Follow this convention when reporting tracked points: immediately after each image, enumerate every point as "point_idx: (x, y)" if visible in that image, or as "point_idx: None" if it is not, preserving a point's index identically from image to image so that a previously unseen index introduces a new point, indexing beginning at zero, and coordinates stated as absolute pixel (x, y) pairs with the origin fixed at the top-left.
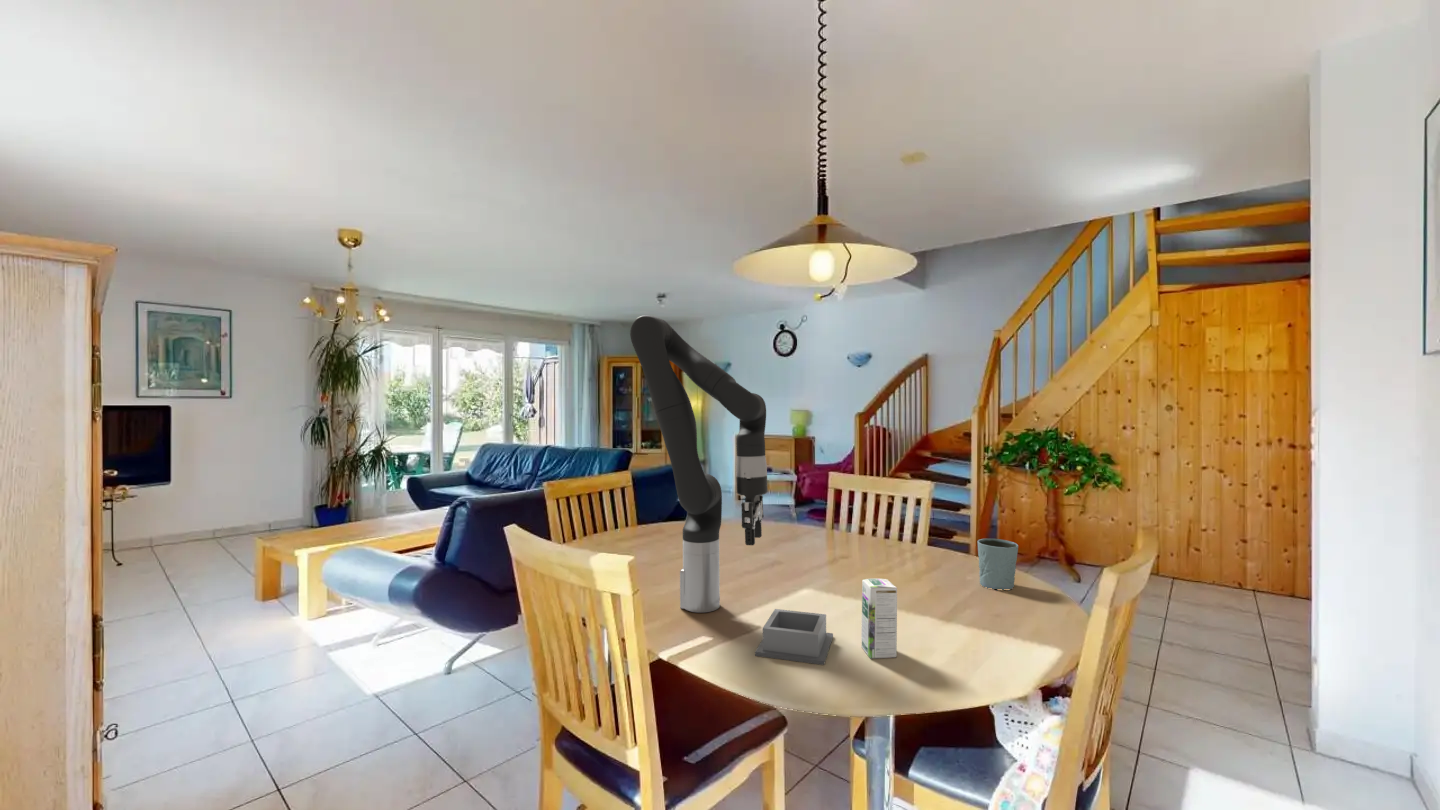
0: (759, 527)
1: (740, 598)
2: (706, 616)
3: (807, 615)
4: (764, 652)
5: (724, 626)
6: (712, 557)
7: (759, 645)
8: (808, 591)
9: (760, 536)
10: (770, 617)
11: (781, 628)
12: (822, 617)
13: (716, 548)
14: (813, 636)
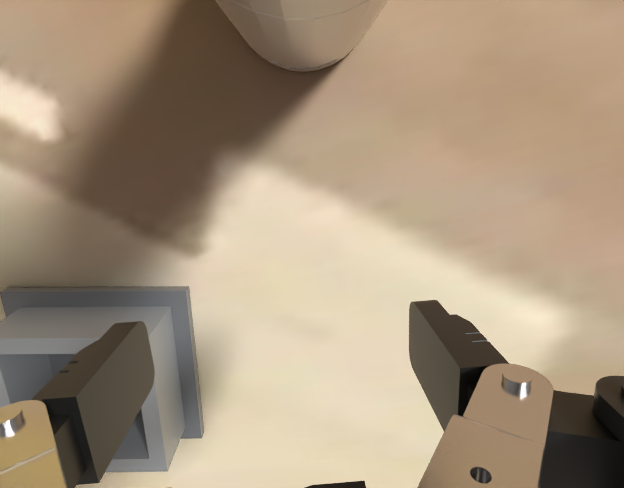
0: (439, 405)
1: (428, 121)
2: (214, 51)
3: (146, 427)
4: (9, 314)
5: (155, 146)
6: (224, 1)
7: (43, 292)
8: (539, 327)
9: (413, 361)
10: (68, 340)
11: (2, 386)
12: (140, 466)
13: (263, 5)
14: None
